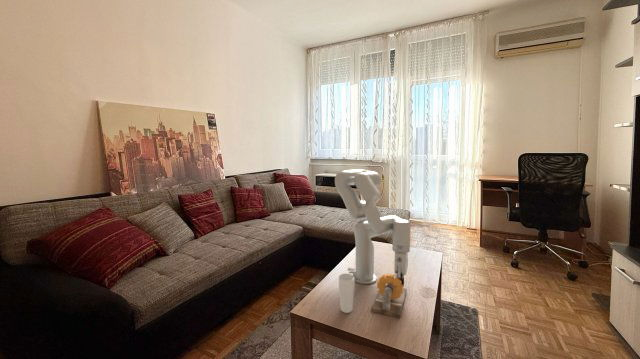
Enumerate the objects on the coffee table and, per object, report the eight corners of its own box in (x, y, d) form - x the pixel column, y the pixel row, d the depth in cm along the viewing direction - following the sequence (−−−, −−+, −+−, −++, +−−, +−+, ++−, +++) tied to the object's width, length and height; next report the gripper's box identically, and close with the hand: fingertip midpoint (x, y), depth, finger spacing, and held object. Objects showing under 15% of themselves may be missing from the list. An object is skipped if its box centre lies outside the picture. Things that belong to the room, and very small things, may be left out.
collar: (376, 296, 126) (377, 273, 125) (377, 294, 128) (378, 271, 126) (401, 302, 122) (402, 278, 120) (402, 299, 123) (403, 276, 122)
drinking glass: (344, 303, 124) (344, 271, 122) (357, 309, 120) (357, 276, 118) (335, 310, 119) (335, 277, 117) (348, 316, 115) (348, 282, 113)
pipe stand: (371, 311, 118) (371, 291, 117) (381, 286, 138) (381, 269, 137) (400, 318, 114) (400, 297, 112) (406, 291, 134) (407, 273, 132)
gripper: (408, 254, 116) (407, 295, 118) (411, 242, 129) (410, 279, 132) (389, 251, 118) (389, 292, 121) (394, 240, 132) (394, 277, 134)
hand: (400, 285), depth 126 cm, fingers closed
